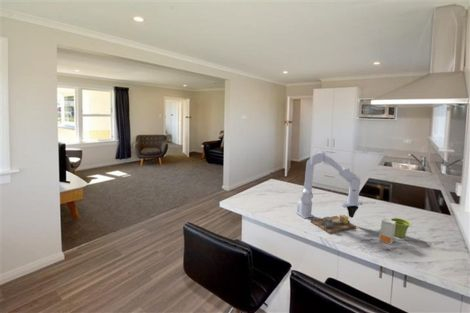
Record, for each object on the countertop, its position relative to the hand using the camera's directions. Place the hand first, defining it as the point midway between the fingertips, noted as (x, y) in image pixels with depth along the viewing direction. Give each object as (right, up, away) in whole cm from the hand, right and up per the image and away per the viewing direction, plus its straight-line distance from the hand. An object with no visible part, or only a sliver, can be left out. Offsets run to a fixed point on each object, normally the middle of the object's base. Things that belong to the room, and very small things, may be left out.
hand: (350, 216), depth 160 cm
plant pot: (+21, -8, -12) cm, 26 cm away
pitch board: (-11, -5, -1) cm, 12 cm away
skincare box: (+10, -9, -19) cm, 24 cm away
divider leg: (-6, -3, -1) cm, 7 cm away
